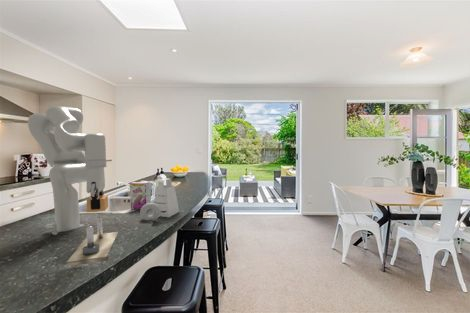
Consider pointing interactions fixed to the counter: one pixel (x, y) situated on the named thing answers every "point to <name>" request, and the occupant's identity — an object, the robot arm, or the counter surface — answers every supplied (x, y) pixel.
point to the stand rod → (99, 228)
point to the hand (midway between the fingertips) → (97, 206)
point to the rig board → (103, 251)
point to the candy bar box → (139, 194)
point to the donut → (146, 207)
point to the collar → (102, 204)
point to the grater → (166, 198)
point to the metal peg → (90, 243)
